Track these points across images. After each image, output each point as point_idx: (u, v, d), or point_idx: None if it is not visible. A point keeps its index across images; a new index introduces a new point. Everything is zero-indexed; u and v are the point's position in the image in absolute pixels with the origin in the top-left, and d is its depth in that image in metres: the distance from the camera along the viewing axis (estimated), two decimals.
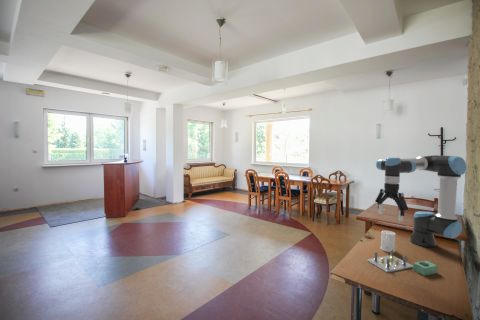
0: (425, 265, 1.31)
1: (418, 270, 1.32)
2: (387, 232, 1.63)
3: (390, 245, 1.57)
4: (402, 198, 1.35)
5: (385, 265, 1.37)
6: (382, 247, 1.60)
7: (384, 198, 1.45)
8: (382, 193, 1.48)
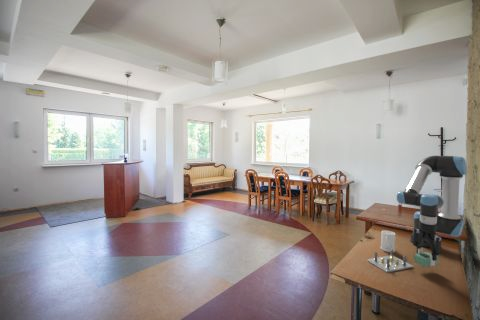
0: (426, 256, 1.31)
1: (419, 261, 1.31)
2: (387, 232, 1.63)
3: (390, 245, 1.57)
4: (439, 243, 1.26)
5: (385, 265, 1.37)
6: (382, 247, 1.60)
7: (422, 240, 1.34)
8: (417, 234, 1.37)
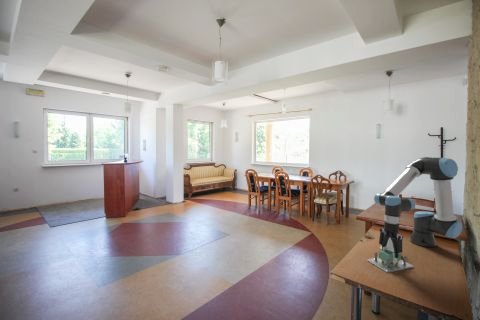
0: (389, 253, 1.38)
1: (383, 257, 1.39)
2: None
3: (390, 245, 1.57)
4: (400, 241, 1.34)
5: (385, 265, 1.37)
6: None
7: (386, 238, 1.42)
8: (383, 233, 1.45)
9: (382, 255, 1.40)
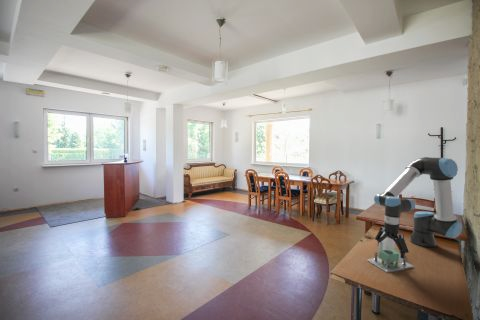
0: (389, 253, 1.38)
1: (383, 257, 1.39)
2: None
3: (390, 245, 1.57)
4: (402, 240, 1.33)
5: (385, 265, 1.37)
6: None
7: (384, 237, 1.43)
8: (382, 231, 1.46)
9: (382, 255, 1.40)
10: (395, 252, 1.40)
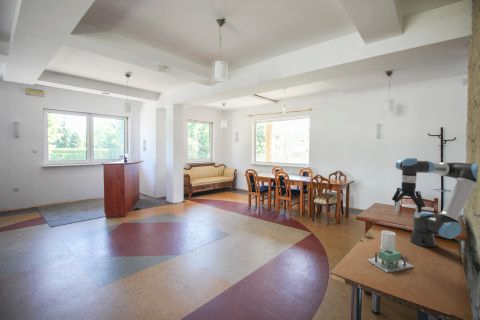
0: (389, 253, 1.38)
1: (383, 257, 1.39)
2: (387, 232, 1.63)
3: (390, 245, 1.57)
4: (419, 196, 1.44)
5: (385, 265, 1.37)
6: (382, 247, 1.60)
7: (401, 196, 1.55)
8: (399, 191, 1.57)
9: (382, 255, 1.40)
10: (395, 252, 1.40)
